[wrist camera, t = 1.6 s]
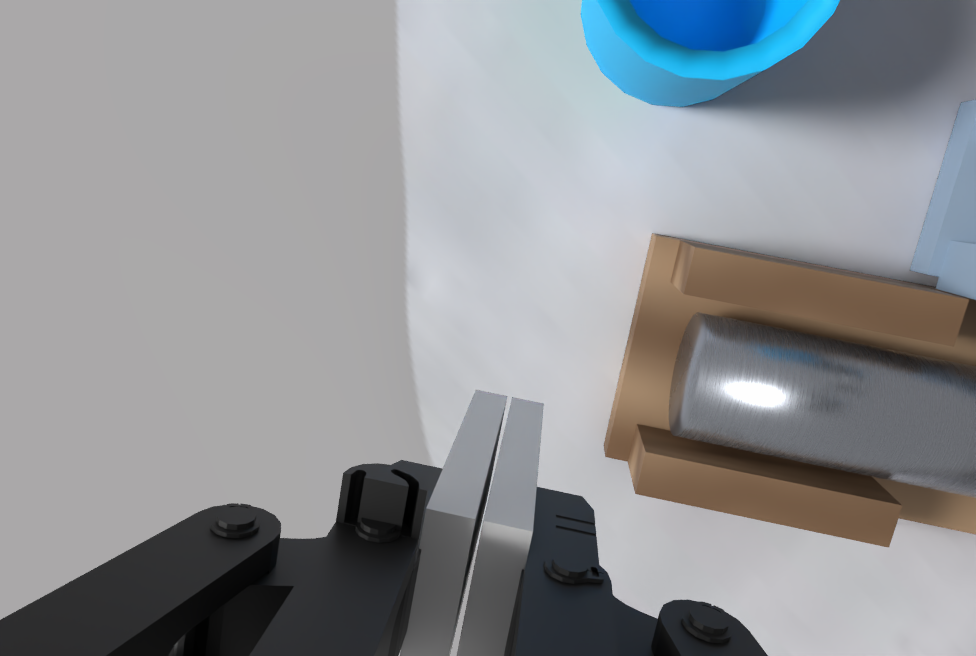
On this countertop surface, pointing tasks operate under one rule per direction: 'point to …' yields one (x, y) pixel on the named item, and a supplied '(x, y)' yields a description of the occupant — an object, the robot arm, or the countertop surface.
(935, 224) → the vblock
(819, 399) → the axle
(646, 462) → the wooden channel tray
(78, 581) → the robot arm
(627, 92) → the mug
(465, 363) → the countertop surface
